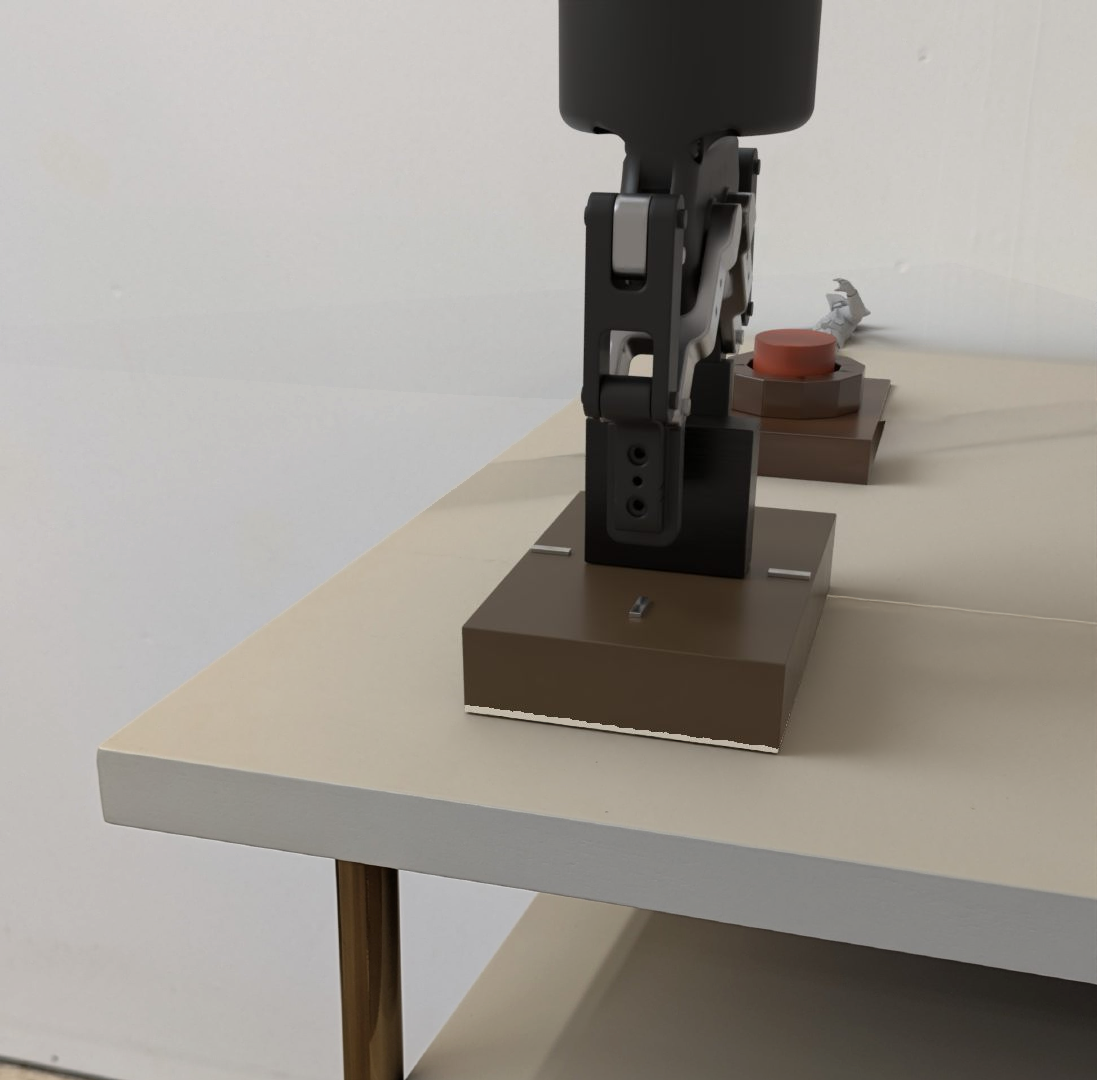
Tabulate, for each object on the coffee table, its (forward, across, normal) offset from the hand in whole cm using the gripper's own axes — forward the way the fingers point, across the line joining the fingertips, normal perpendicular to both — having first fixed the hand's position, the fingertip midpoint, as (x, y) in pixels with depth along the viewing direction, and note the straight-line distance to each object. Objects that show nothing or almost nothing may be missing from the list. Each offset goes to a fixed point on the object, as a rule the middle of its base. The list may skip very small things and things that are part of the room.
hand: (672, 498), depth 47 cm
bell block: (+5, +26, -1) cm, 26 cm away
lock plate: (+5, 0, 0) cm, 5 cm away
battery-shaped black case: (+2, 0, 0) cm, 2 cm away
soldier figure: (+6, +40, 0) cm, 41 cm away
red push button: (+2, +26, -1) cm, 26 cm away
